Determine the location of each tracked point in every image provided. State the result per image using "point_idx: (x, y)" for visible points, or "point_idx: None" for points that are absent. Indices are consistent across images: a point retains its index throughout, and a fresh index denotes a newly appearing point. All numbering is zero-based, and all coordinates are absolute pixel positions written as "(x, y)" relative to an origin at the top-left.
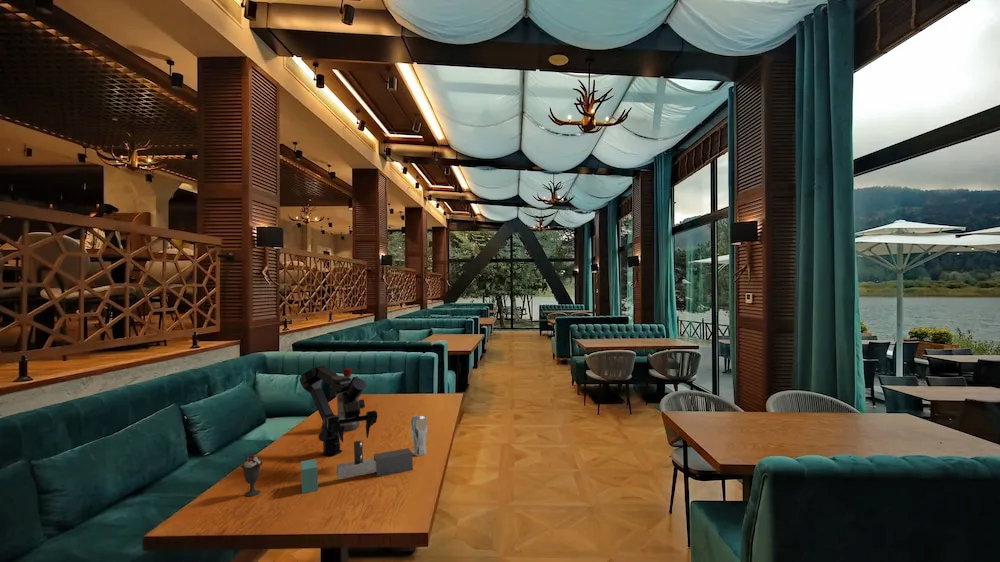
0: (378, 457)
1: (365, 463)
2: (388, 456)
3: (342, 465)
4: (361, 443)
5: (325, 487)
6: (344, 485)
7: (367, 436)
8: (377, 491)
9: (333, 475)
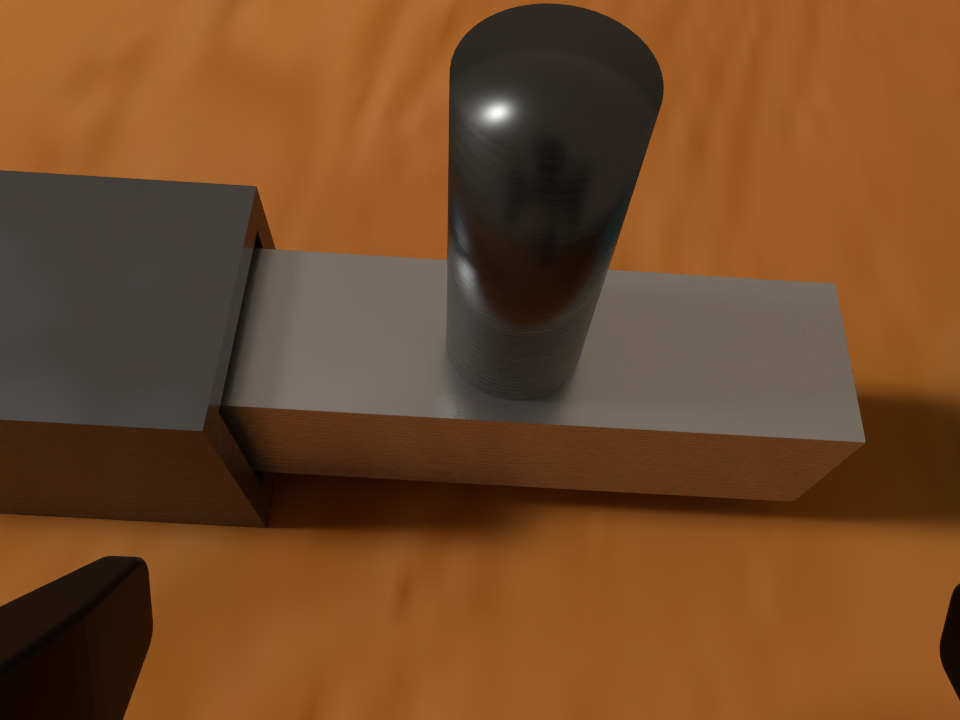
0: (199, 240)
1: (425, 260)
2: (47, 198)
3: (770, 347)
4: (485, 38)
5: (895, 361)
6: None
7: (131, 561)
8: (407, 37)
9: (831, 716)
